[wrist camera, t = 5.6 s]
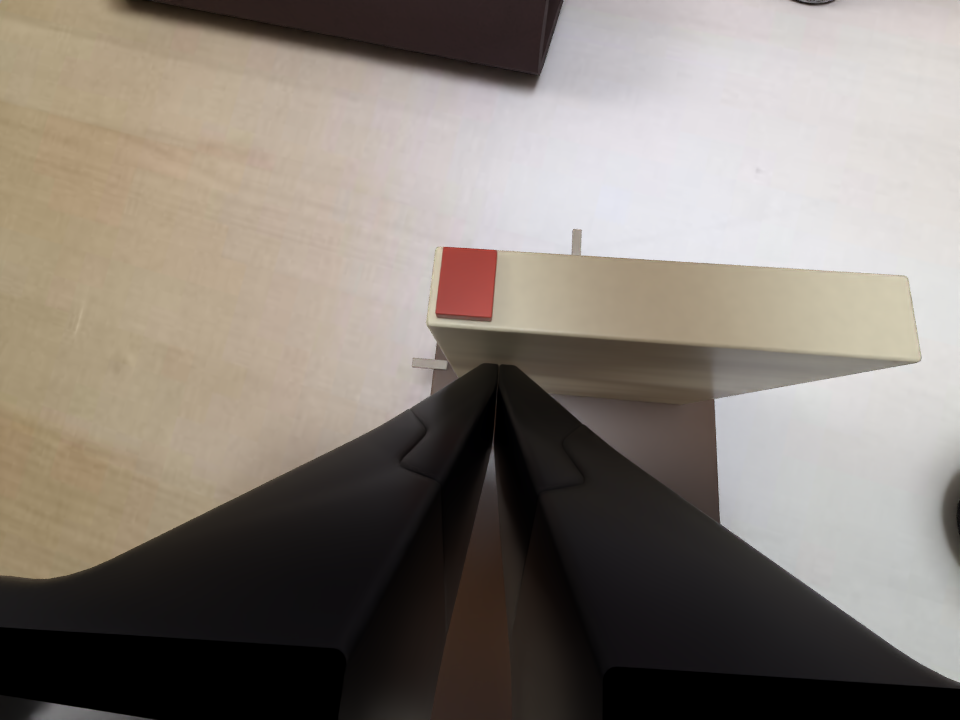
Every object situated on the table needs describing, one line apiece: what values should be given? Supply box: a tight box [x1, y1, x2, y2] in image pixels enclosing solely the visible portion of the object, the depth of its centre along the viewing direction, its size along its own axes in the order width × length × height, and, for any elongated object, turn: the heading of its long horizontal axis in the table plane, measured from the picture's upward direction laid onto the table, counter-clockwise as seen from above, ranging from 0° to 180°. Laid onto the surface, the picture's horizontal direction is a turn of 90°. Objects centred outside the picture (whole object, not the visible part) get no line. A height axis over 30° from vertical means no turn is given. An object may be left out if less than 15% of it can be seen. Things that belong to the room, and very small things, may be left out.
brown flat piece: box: [412, 229, 720, 720], centre depth 15 cm, size 19×13×3 cm
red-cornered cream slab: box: [426, 247, 921, 405], centre depth 10 cm, size 8×2×8 cm, turn 85°
